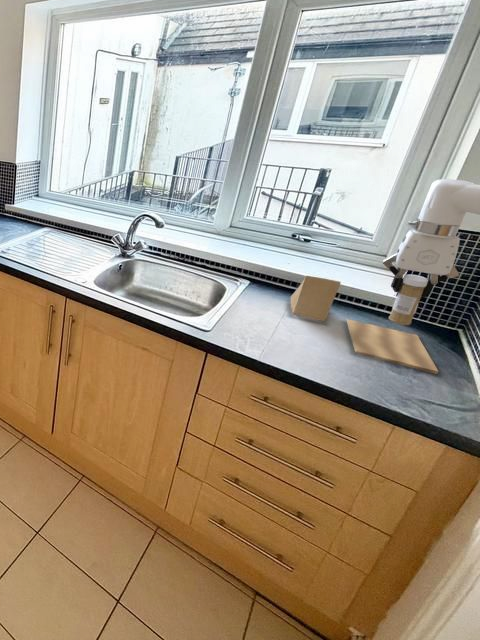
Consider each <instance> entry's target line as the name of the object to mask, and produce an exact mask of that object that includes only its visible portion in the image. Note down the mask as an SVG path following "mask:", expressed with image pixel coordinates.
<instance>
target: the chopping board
mask: <svg viewBox="0 0 480 640" xmlns="http://www.w3.org/2000/svg"><path fill="white" fill-rule="evenodd" d="M345 321H346V323H347V328H348V333H349V336H350V340H351V343H352V347H353V350H354V353H356V354H358V355H362V356H367V357H371V358H374V359H378V360H381V361H386V362H389V363H393V364H397V365H400V366H404V367H408V368H412V369H416V370H419V371H424V372H427V373H430V374H435V375H438V374H439V370H438V368H437V366H436V364H435V363H434V361H433V359H432V357H431V355H430V354H429V352H428V351H427V349H426V348H425V346H424V344H423V342H422V341H421V339H420V337H419V335H418V334H415V333H410V332H405V331H401V330H397V329H392V328H388V327H385V326H379V325H376V324H370V323H365V322H362V321H357V320H353V319H348V318H346V319H345Z"/></svg>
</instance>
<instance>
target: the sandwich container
mask: <svg viewBox="0 0 480 640" xmlns="http://www.w3.org/2000/svg"><path fill="white" fill-rule="evenodd" d="M340 285H341V281H339V280H333V279H329V278H325V277H318V276H312V275H306V276H305V277H304V279H303V280H302V281H301V283H300V284H299V285H298V286H297V288H296V290H294V292H293V293H292V294H291V295H290V308H291V311H292V315H296V316H299V317H303V318H304V317H305V318H307V319H308V318H309V319H313V320H318V321H321V322H326V319H327V317H328V315H329V312H330V310H331V307H332V305H333V303H334V300H335V298H336V296H337V294H338V290H339V288H340Z"/></svg>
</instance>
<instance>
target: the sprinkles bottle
mask: <svg viewBox="0 0 480 640" xmlns="http://www.w3.org/2000/svg"><path fill="white" fill-rule="evenodd" d="M427 283H428V277H427V278H426V277H424V276H422V275H418V274H410V273H409V274H404V275H403V282H402V285H401V287H400V290H399V292H397V295H396V297H395V300H394V303H393V305H392V309H391V312H390V315H389V316H388V320H389V321H390V322H392V323H394V324H397V325H401V326H409V325H411V324H412V320H413V318H414V316H415V314H416V312H417V309H418V307H419V303H420V301H421V299H422V297H421V295H422V293H423V290H424V288H425V287H426V285H427Z"/></svg>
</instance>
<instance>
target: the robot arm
mask: <svg viewBox="0 0 480 640" xmlns="http://www.w3.org/2000/svg"><path fill="white" fill-rule="evenodd" d="M467 213H470V214H475V215H479V216H480V184H475V183H474V182H472V181H468V180H462V179H451V178H441V179H436V180H434V181H433V182H432V183H431V185H430V187H429V190H428V192H427V194H426V197H425V200H424V202H423V205H422V208H421V209H420V212H419V215H418V217H417V218H416V219H415V220H408V222H407V227H411V228H413V229H409V230H408V231H407V233H406V234H405V236H404V237H403V239H402V241H401V242H400V244H399V246H398V248H397V250H396V252H395V253H394V254H392V255H390V256H389V257H387V258H385V259H383V260H382V261H381V263H382V265H383V266H384V267H386V268H387V269H388V270H390V272H391V273H392V274H393V279H392V282H391V284H390V287H391V288H392V290H393V292H394V293H398V292H399V290H400V288H401V285H402V282H403V277H404V275H406V273H407V272H408V271H412V272H419V273H425V274H427V279H428V283H427V285H426V287H425V288H424V290H423V293H422V295H421V298H426V297H427V295H430V294H431V293H432V290H433V288H434V286H435V285H437V284H438V283H440V282H444V281H446V280H449V279H453V278H457V277H459V276H460V273H459V272H458V270H457V268H456V267H455V265H454V263H455V261H456V257H457V254H458V251H459V246H460V240H461V237H459V236H457V234H458V232H459V229H460V227H461V225H462V222H463V220H464V218H465V216H466V214H467ZM393 263H395V265H396V266H395V265H394V264H393Z"/></svg>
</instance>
